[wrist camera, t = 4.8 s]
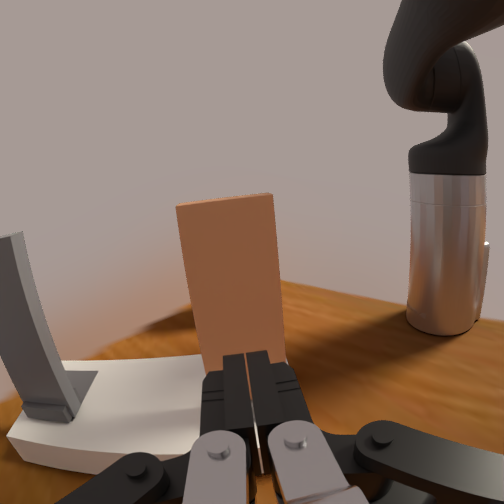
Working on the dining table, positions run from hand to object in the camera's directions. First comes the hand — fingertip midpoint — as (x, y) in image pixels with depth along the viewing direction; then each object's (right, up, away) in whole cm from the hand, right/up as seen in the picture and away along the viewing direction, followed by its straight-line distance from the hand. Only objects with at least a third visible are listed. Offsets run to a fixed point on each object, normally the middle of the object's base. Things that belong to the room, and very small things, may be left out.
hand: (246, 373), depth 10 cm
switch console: (-8, -10, +12) cm, 18 cm away
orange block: (0, -7, +10) cm, 12 cm away
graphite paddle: (-16, -9, +9) cm, 20 cm away
